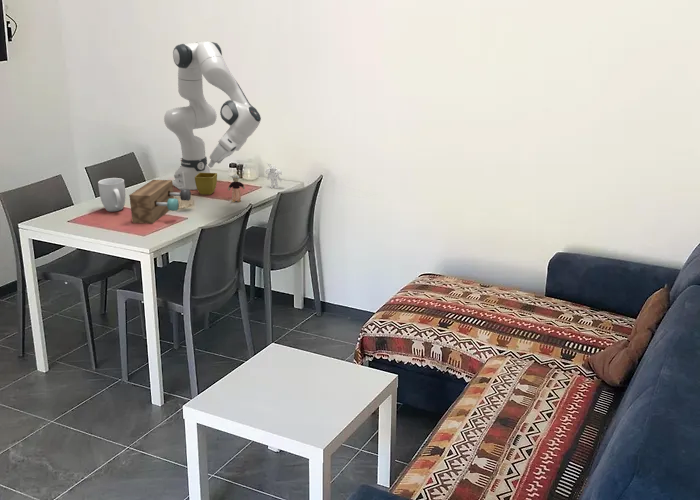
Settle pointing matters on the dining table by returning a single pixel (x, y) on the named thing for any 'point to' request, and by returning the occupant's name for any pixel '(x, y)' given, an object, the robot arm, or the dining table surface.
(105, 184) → the mug
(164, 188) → the walnut mount
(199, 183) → the flower pot
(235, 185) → the grandmother figurine
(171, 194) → the knob black
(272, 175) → the flower shoulder figurine
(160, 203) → the knob teal
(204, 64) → the robot arm
